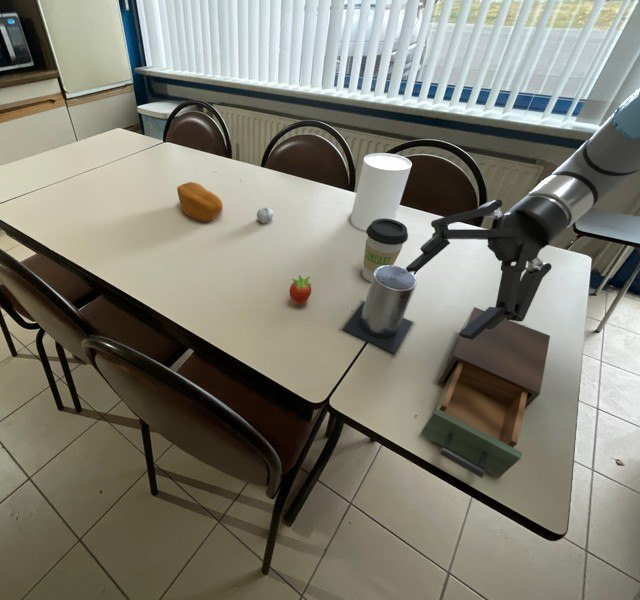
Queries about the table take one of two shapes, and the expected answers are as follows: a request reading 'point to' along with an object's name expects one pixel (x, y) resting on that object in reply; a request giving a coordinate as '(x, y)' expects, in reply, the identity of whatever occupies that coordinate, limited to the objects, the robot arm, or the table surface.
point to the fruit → (300, 290)
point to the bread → (199, 202)
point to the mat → (385, 344)
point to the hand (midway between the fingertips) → (438, 303)
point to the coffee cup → (382, 245)
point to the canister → (379, 188)
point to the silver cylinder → (387, 301)
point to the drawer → (478, 421)
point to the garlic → (265, 215)
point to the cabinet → (503, 355)
